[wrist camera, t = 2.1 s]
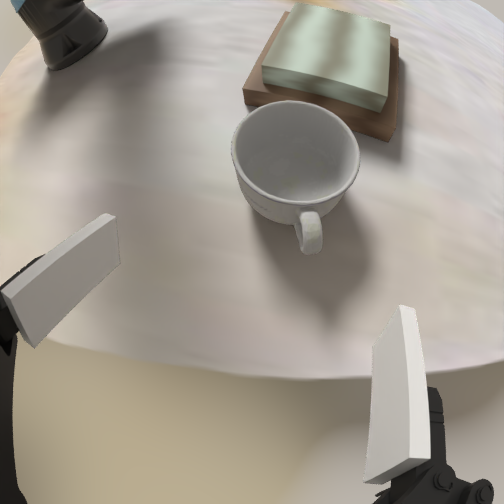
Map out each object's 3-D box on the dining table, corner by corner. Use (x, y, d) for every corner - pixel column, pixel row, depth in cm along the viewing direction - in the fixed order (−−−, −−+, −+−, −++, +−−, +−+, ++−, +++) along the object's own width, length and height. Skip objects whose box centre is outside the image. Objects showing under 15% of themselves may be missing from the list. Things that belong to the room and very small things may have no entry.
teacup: (246, 142, 32) (237, 96, 25) (341, 147, 31) (355, 102, 24) (234, 263, 29) (219, 242, 22) (344, 269, 28) (367, 250, 20)
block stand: (245, 104, 34) (239, 70, 28) (285, 25, 37) (284, -3, 32) (388, 142, 31) (404, 112, 25) (393, 52, 35) (402, 25, 29)
